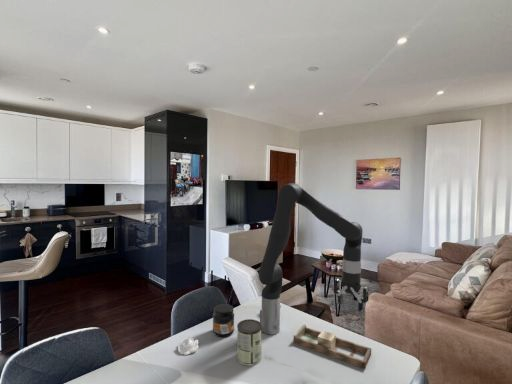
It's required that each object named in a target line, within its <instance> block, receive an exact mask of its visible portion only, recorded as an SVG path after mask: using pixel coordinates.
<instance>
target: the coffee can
mask: <svg viewBox="0 0 512 384" xmlns="http://www.w3.org/2000/svg"><path fill="white" fill-rule="evenodd" d="M236 326H237V327H236V328H237V361H238V362H239V364H241V365H243V366H250V367H251V366H255V365H258V364H259V363H260V362H261V360H262V330H261V328H262V324H261V323H260V320H256V319H251V318H250V319H243V320H241V321H239V322H238V323H237V324H236Z"/></svg>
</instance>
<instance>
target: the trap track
mask: <svg viewBox="0 0 512 384" xmlns="http://www.w3.org/2000/svg"><path fill="white" fill-rule="evenodd" d="M321 332H322V331H319V330H315V329H313V328H310V327H307V325H306V324H303V325H302V326H301V327H300V328H299V329H297V331H296V332H295V333H294V334H293V337H292V338H293V344H296V345H299V346H302V347H303V348H307V349H309V350H312V351H315V352H318V353H320V354H323V355H326V356H329V357H331V358H334V359H336V360H338V361H342V362H344V363H348V364H350V365H353V366H355V367H358V368H361V369H363V370H366V368H367V365H368V363H369V360H370V358H371V356H372V348H371V347H367V346H364V345H361V344H358V343H355V342H353V341H349V340H347V339H343V338H340V337H337V336H336V345H335V347H334V349H333V350H332V349H329V348H327V347H324V346H321V345H318V336H319V334H320V333H321ZM340 346H341V347H344V348H347V349H350V350H351V351H350V353H349V355H348V354H346V353H343V352H340V351H338V349H339V348H340ZM356 352H359V353H362V354H363V355H364V357H363V359H360V358H358V357H357V358H356V357H355V356H354V355H355V354H356Z"/></svg>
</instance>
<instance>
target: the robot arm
mask: <svg viewBox="0 0 512 384" xmlns="http://www.w3.org/2000/svg"><path fill="white" fill-rule="evenodd" d="M295 204H298V205H300V206H302V207H304V208H306V209H307V210H308V211H309V212H311V214H312V215H314V217H315V218H316V219H318V220H319V221H320V222H322V223H324V224H325V225H327V226H328V227H329V228H332V229H334V231H335V232H337V233H338V234H339V235H340V236H341V237H342V238H344V240H345V242H344V246H343V255H342V263H341V264H342V269H341V280H340V278H337V279H335V280H334V287H333V293H334V294H336V295H337V303H338V305H343V303H344V302H343V301H344V295H343V294H344V293H346V294H350V295H353V296H354V297H355V298H356V300H357V301H358V305H357V311H358V312H361V311H363V310H364V304H366V303H367V302H369V300H370V299H369V287H368V286H362V285H361V280H362V279H361V278H362V262H361V261H362V241H363V227H362V225H361V224H360V223H359V222H356V221H352V222H351V221H349V220H348V219H346V218H344V217H343V215H342V214H341V213H340V212H338V211H336V210H335V209H333V208H331V207H330V206H327V204H324V203H323V202H321V201H320V200H318V199H317V198H315V197H314V196H313V195H312V194H310V193H308V191H306V190H305V189H304V188H303V187H302V186H300V184H297V183H295V182H290V183H286V184H283V185H282V186H281V187H280V188H279V191H278V195H277V202H276V208H275V209H276V210H275V213H274V217H273V221H272V224H271V228H270V232H269V235H268V241H267V244H266V248H265V252H264V255H263V258H262V261H261V264H260V266H259V269H258V279H259V282H260V283H261V284H262V285H264V287H263V288H262V290H261V309H260V310H259V322H260V323H261V324H262V328H261V333H264V334H265V335H275V334H278V333H280V329H281V328H280V326H281V325H280V324H281V323H280V322H281V308H280V305H281V293H282V289H283V269H282V267H281V266H280V264H279V263H277V261H278V259H279V258H280V256H281V255H282V254H283V252H284V250H285V249H286V247H287V245H288V242H289V240H290V239H289V238H290V235H291V228H292V227H291V215H292V211H293V207H294V205H295ZM340 285H341V287H342V288H341V289H340Z"/></svg>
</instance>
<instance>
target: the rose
mask: <svg viewBox="0 0 512 384" xmlns="http://www.w3.org/2000/svg"><path fill="white" fill-rule="evenodd" d="M198 349H199V340H198V339H195V340H194V338H193V337H189V336H188V337H187V338H185V339H183V340H181V341H180V342H179V344H178V345H177V350H178V353H179V354H180V355H182V354H184V355H183V356H189V355H190V353H191V354H193V353H194V354H195V353H196V352H197V351H198ZM188 354H189V355H188Z"/></svg>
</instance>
